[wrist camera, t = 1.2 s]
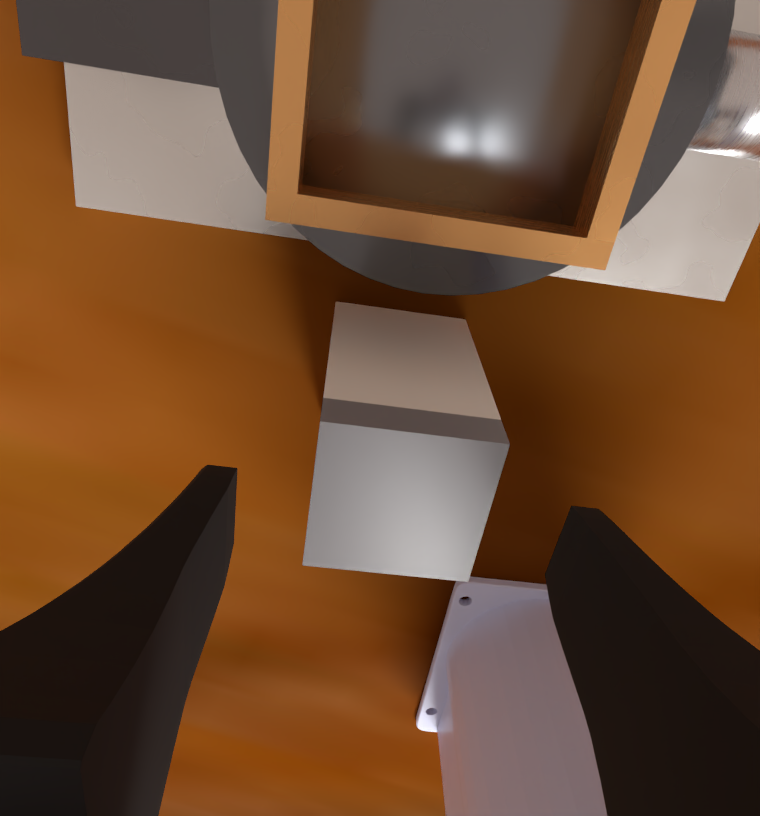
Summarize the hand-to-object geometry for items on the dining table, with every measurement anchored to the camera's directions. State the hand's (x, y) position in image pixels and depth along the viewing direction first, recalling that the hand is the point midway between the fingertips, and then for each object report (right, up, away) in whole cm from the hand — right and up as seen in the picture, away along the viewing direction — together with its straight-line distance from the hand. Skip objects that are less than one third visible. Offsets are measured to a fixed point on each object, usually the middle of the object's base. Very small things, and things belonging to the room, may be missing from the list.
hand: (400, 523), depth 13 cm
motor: (+1, +11, +2) cm, 12 cm away
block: (0, +4, +7) cm, 8 cm away
